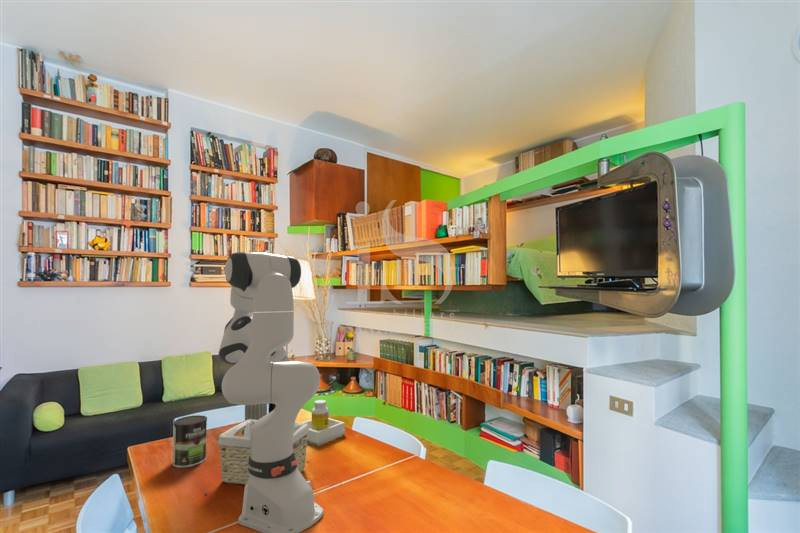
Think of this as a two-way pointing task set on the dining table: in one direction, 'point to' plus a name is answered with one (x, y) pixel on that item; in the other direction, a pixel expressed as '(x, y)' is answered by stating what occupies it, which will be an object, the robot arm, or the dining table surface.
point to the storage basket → (239, 449)
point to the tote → (325, 432)
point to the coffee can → (189, 441)
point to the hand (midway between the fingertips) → (293, 370)
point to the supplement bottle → (319, 415)
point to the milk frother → (257, 411)
